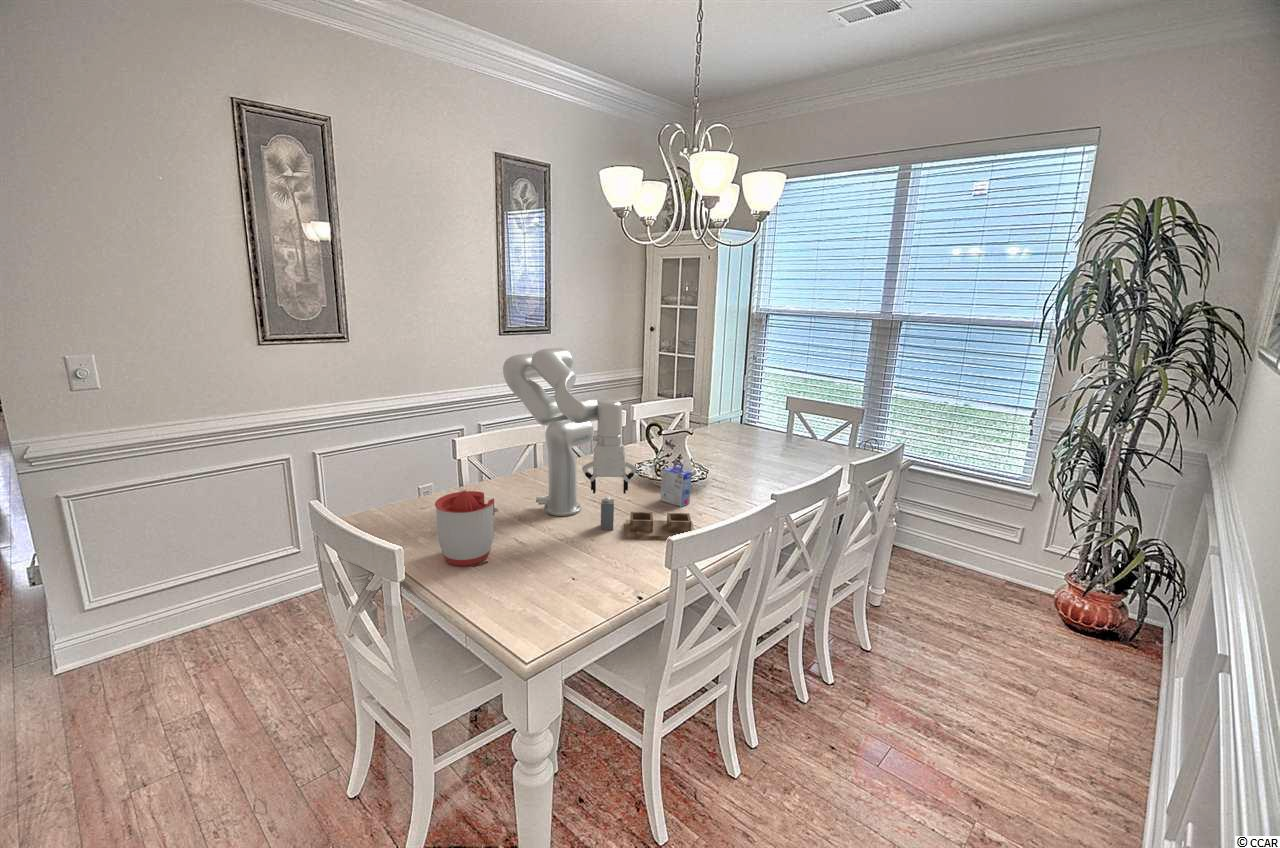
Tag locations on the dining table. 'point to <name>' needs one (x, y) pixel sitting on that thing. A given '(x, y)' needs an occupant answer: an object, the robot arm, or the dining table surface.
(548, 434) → the robot arm
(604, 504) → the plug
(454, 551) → the citrus juicer
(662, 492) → the ink cartridge box
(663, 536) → the socket board
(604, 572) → the dining table surface
